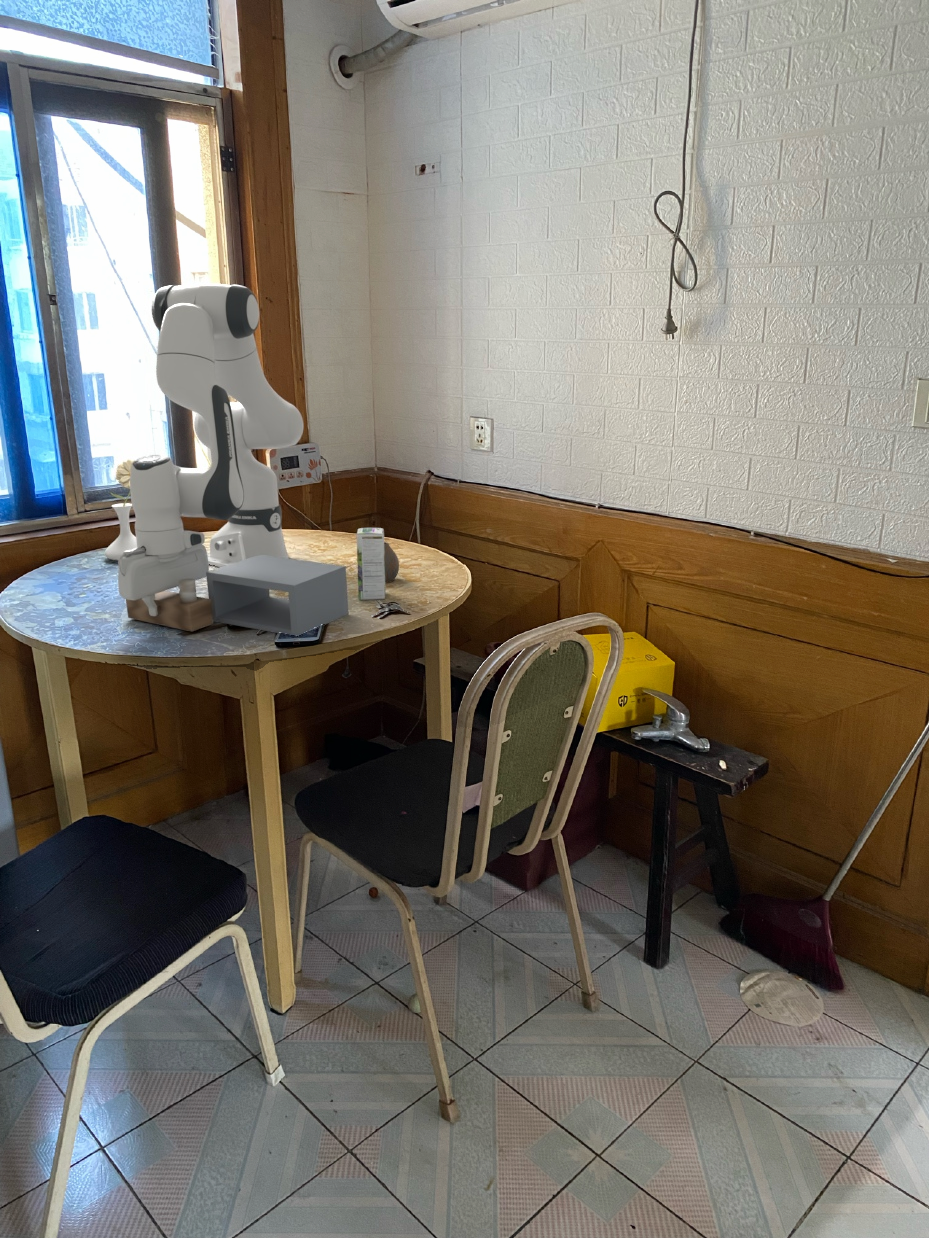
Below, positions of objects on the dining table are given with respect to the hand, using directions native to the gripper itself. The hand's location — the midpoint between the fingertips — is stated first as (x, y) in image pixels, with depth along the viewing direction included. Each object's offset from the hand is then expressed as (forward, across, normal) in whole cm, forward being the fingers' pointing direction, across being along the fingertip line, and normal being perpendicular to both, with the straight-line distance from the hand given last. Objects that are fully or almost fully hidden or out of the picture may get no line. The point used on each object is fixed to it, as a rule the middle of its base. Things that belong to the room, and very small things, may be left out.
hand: (169, 610), depth 180 cm
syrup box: (+3, +34, -25) cm, 42 cm away
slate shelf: (+3, +13, -17) cm, 22 cm away
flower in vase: (+3, +35, +50) cm, 61 cm away
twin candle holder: (+2, 0, 0) cm, 2 cm away
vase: (+3, +46, -20) cm, 50 cm away
